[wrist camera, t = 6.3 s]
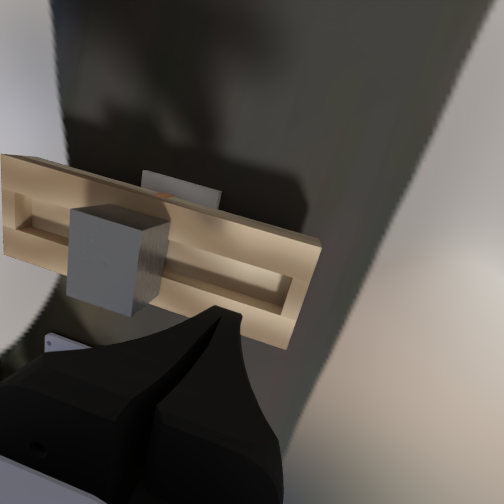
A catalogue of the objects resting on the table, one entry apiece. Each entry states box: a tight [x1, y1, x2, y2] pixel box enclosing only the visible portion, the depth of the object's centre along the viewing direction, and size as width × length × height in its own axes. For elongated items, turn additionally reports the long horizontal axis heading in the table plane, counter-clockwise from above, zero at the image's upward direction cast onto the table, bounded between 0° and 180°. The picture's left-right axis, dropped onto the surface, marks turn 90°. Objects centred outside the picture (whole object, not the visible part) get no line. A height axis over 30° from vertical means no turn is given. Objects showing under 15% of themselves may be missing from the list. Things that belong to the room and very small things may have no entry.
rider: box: [66, 204, 171, 317], centre depth 16 cm, size 5×4×4 cm
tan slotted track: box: [1, 154, 322, 350], centre depth 19 cm, size 9×21×4 cm, turn 75°
